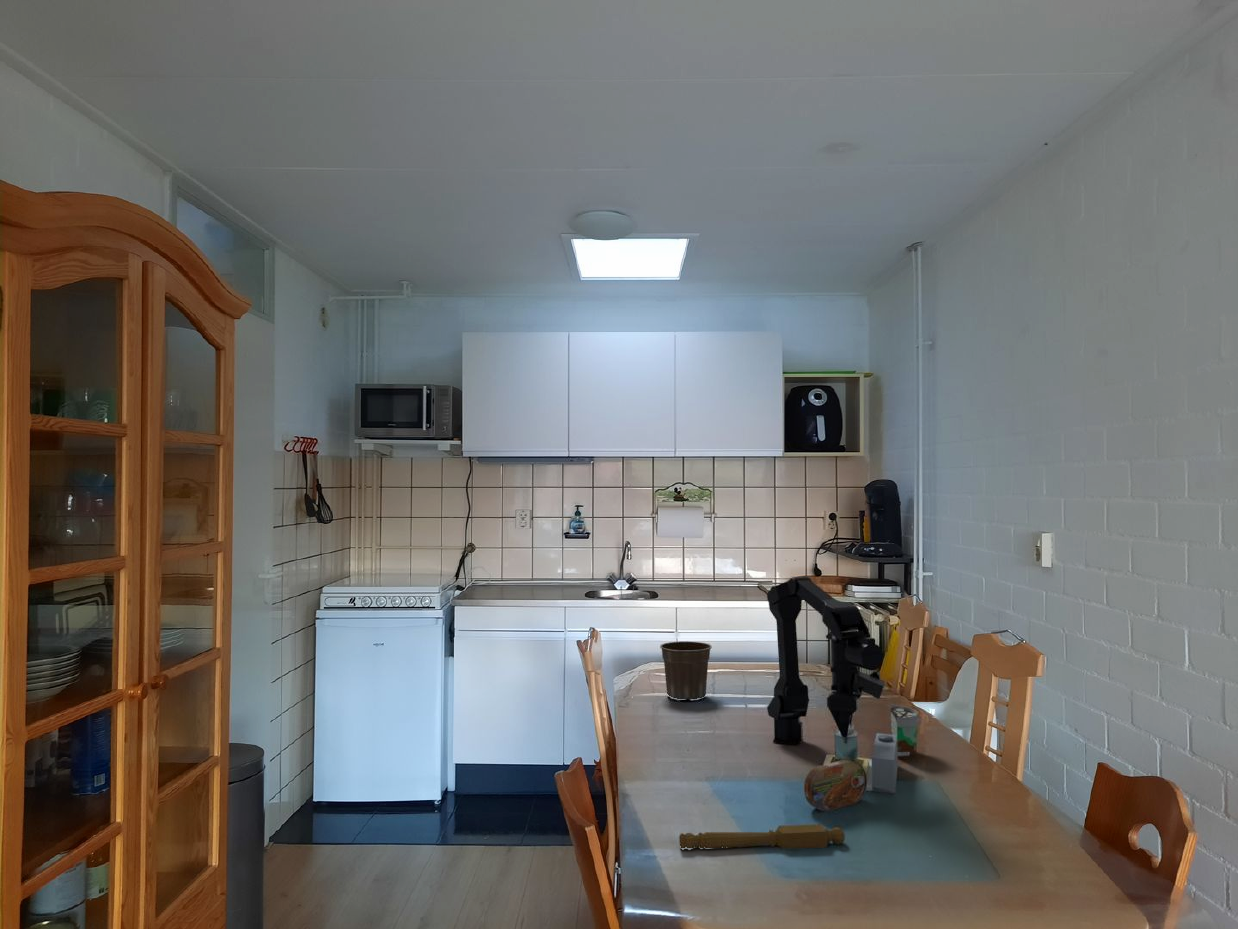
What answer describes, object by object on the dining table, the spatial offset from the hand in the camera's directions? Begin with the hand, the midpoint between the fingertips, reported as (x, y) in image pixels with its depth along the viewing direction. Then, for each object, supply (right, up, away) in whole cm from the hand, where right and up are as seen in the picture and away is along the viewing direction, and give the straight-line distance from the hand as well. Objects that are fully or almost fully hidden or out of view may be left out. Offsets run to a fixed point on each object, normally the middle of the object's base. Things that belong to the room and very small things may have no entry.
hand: (846, 731), depth 174 cm
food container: (+19, -10, +13) cm, 25 cm away
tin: (-7, -9, -18) cm, 21 cm away
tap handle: (-26, -9, -35) cm, 45 cm away
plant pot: (-30, -13, +68) cm, 75 cm away
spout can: (0, -9, 0) cm, 9 cm away
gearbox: (+2, -10, -1) cm, 10 cm away
